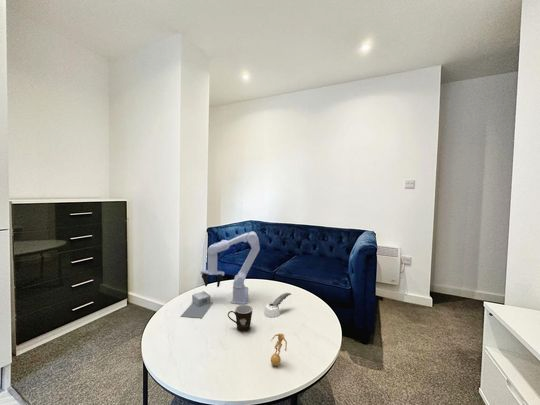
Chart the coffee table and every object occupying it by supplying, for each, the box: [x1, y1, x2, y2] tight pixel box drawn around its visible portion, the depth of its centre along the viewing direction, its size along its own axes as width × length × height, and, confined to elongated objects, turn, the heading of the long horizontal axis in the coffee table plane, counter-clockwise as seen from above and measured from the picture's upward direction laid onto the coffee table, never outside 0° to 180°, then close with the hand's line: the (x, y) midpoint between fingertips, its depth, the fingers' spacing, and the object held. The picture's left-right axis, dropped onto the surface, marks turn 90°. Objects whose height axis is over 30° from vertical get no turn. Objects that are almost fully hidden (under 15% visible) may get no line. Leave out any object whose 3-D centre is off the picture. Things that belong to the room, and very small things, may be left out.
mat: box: [180, 301, 214, 319], centre depth 136 cm, size 12×18×1 cm, turn 174°
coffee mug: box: [227, 304, 253, 333], centre depth 119 cm, size 12×9×10 cm
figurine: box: [270, 332, 288, 367], centre depth 95 cm, size 8×6×12 cm
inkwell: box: [263, 292, 292, 318], centre depth 136 cm, size 9×18×10 cm, turn 123°
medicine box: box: [191, 291, 212, 306], centre depth 144 cm, size 8×4×9 cm
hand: (212, 286), depth 146 cm, fingers open, 7 cm apart
